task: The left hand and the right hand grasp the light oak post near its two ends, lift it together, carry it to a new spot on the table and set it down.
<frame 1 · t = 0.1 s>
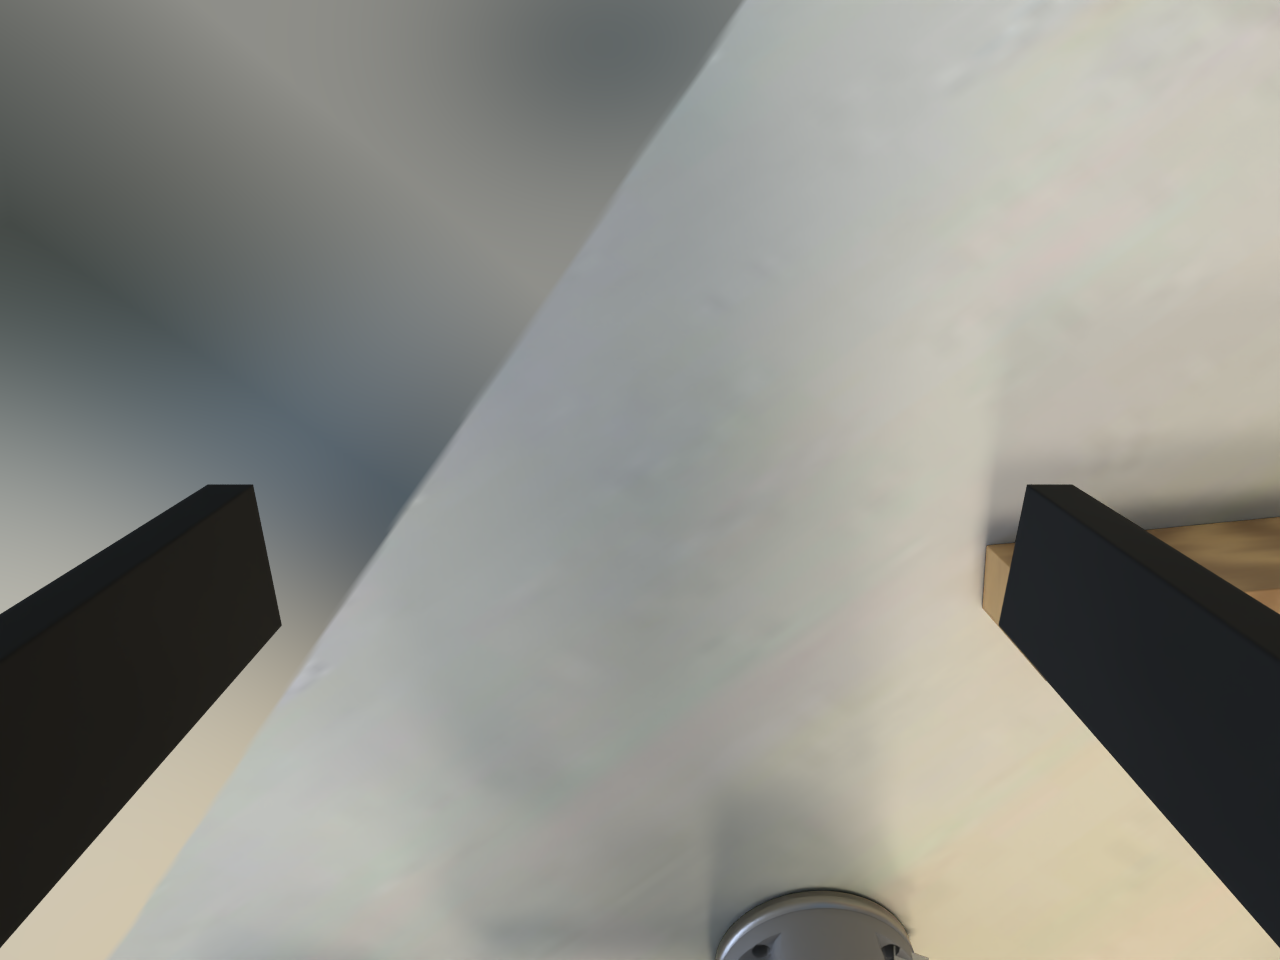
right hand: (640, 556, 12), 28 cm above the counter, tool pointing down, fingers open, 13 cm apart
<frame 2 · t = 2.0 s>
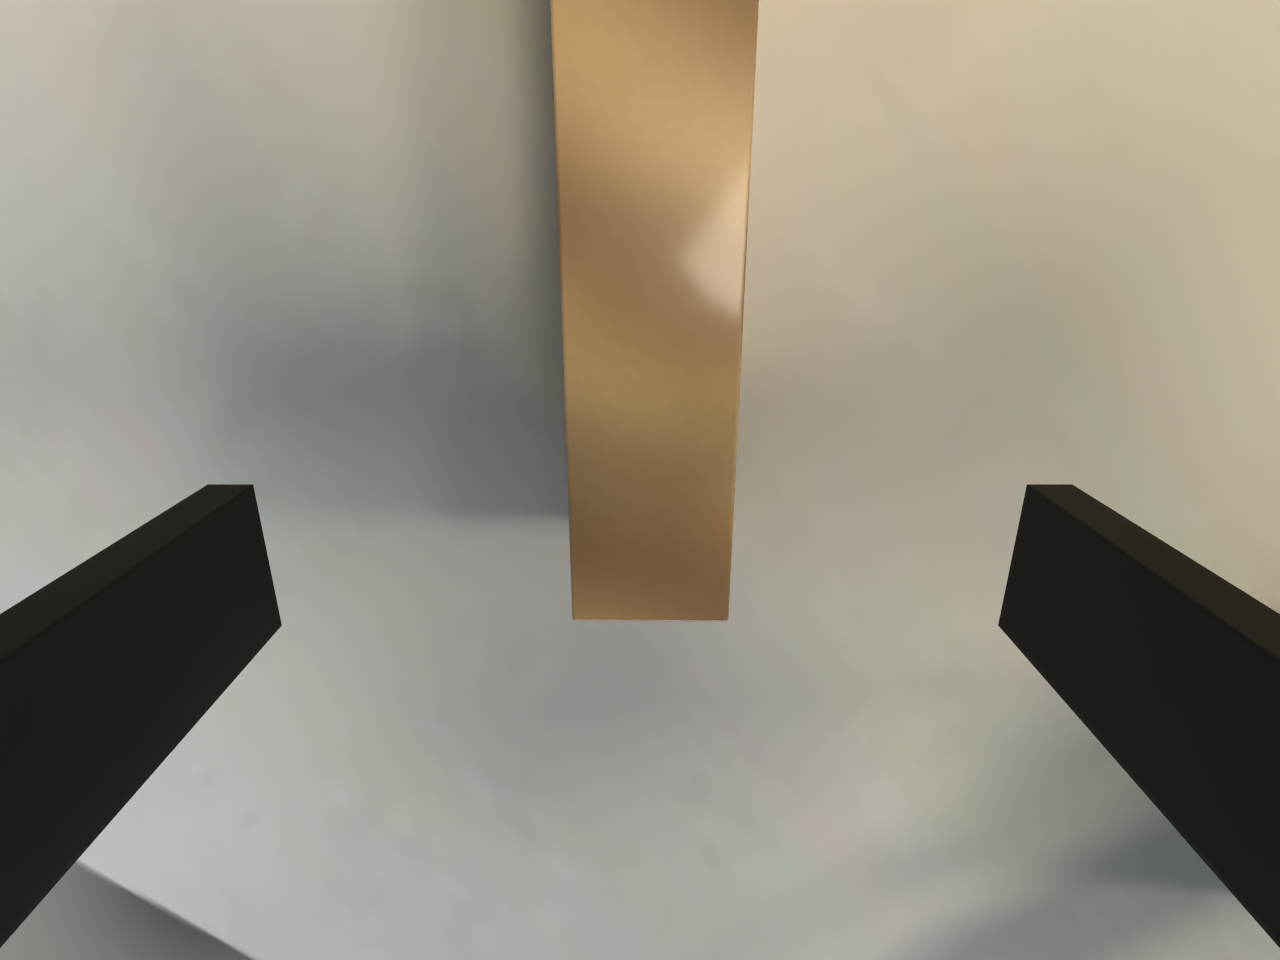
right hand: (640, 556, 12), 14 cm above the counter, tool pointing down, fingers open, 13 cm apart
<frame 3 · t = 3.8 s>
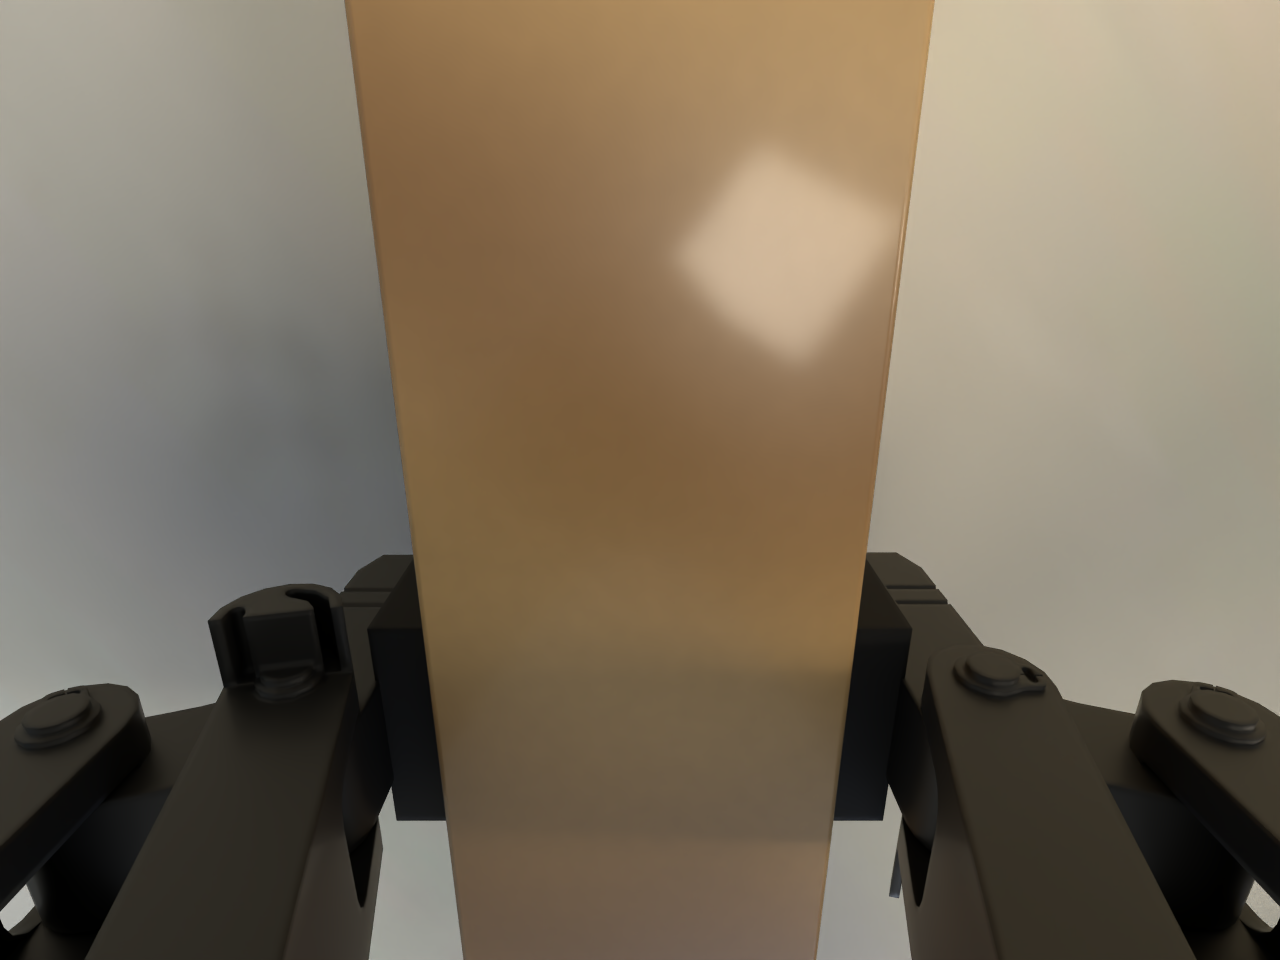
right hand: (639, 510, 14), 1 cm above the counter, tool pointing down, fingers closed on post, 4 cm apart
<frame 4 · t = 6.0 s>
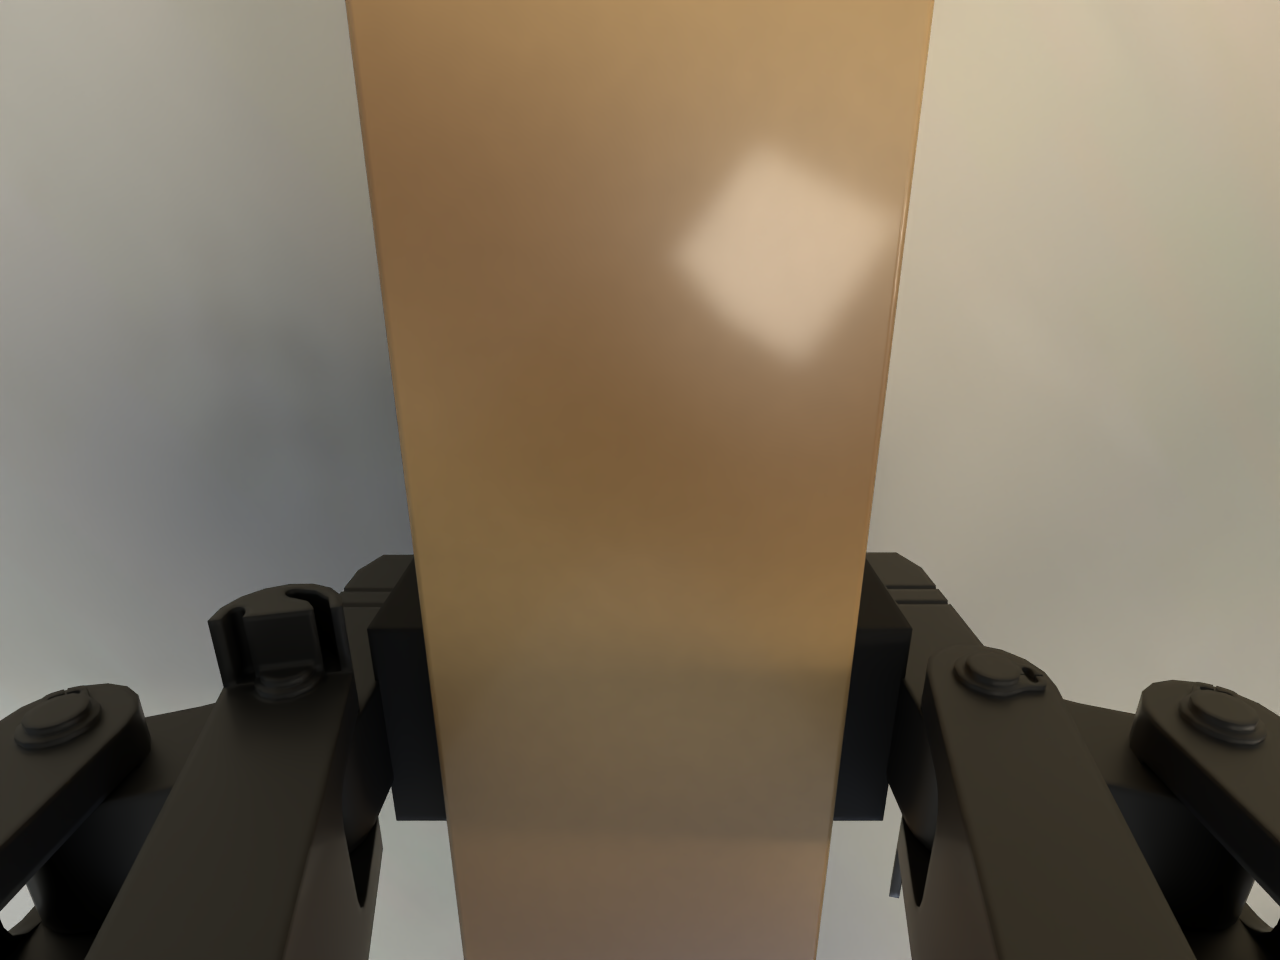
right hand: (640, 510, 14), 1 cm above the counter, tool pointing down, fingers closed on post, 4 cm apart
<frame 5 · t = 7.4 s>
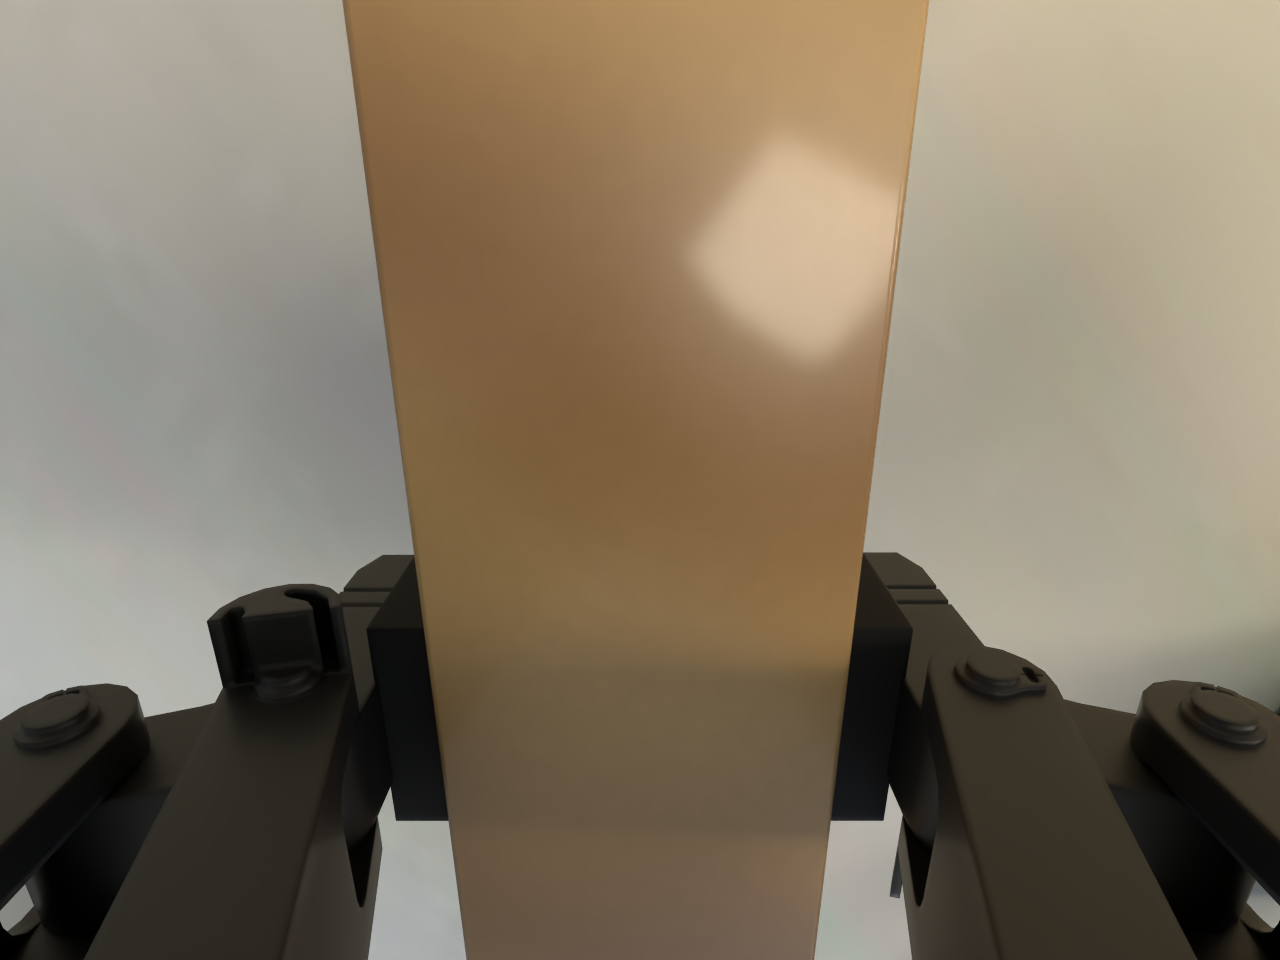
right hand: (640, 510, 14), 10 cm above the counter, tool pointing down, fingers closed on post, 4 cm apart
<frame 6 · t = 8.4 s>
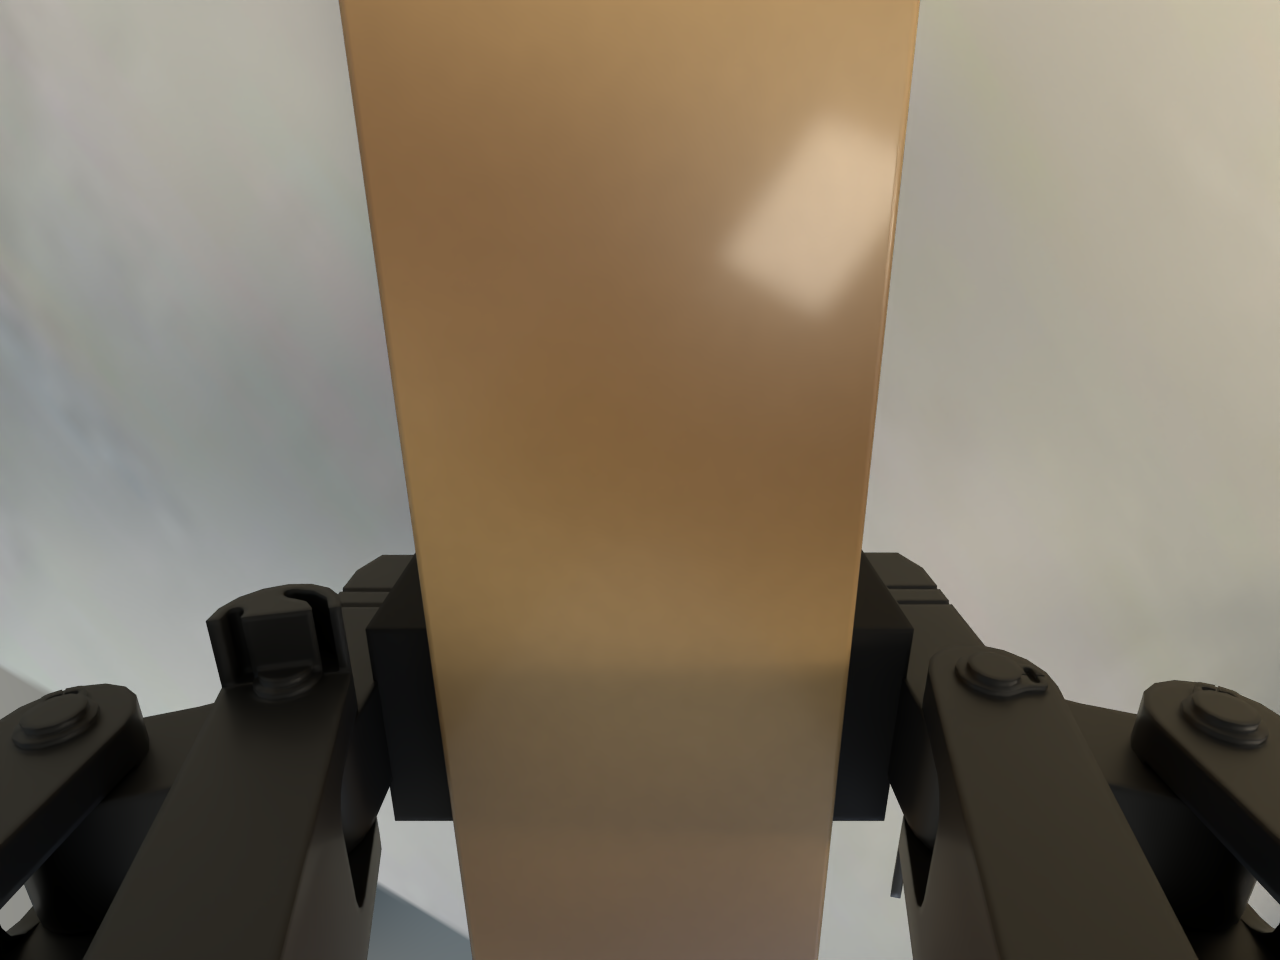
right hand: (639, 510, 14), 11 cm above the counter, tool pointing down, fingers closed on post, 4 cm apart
when the right hand's fingers open (2 cm above the counter, at t = 11.0 s): post stays where it is, on the counter.
when the left hand's fingers open (3 cm above the counter, at t = 11.1 s): post stays where it is, on the counter.
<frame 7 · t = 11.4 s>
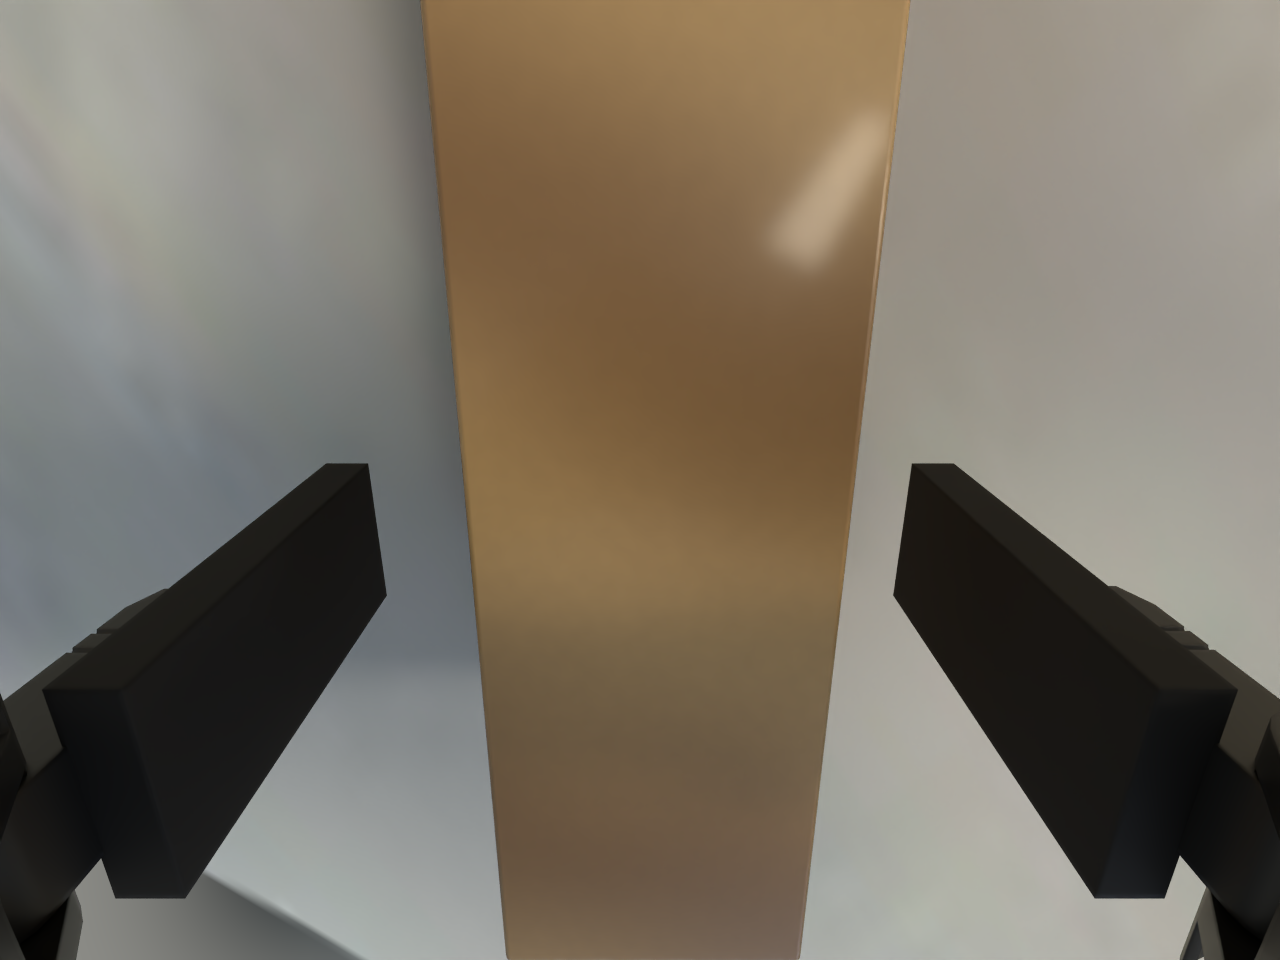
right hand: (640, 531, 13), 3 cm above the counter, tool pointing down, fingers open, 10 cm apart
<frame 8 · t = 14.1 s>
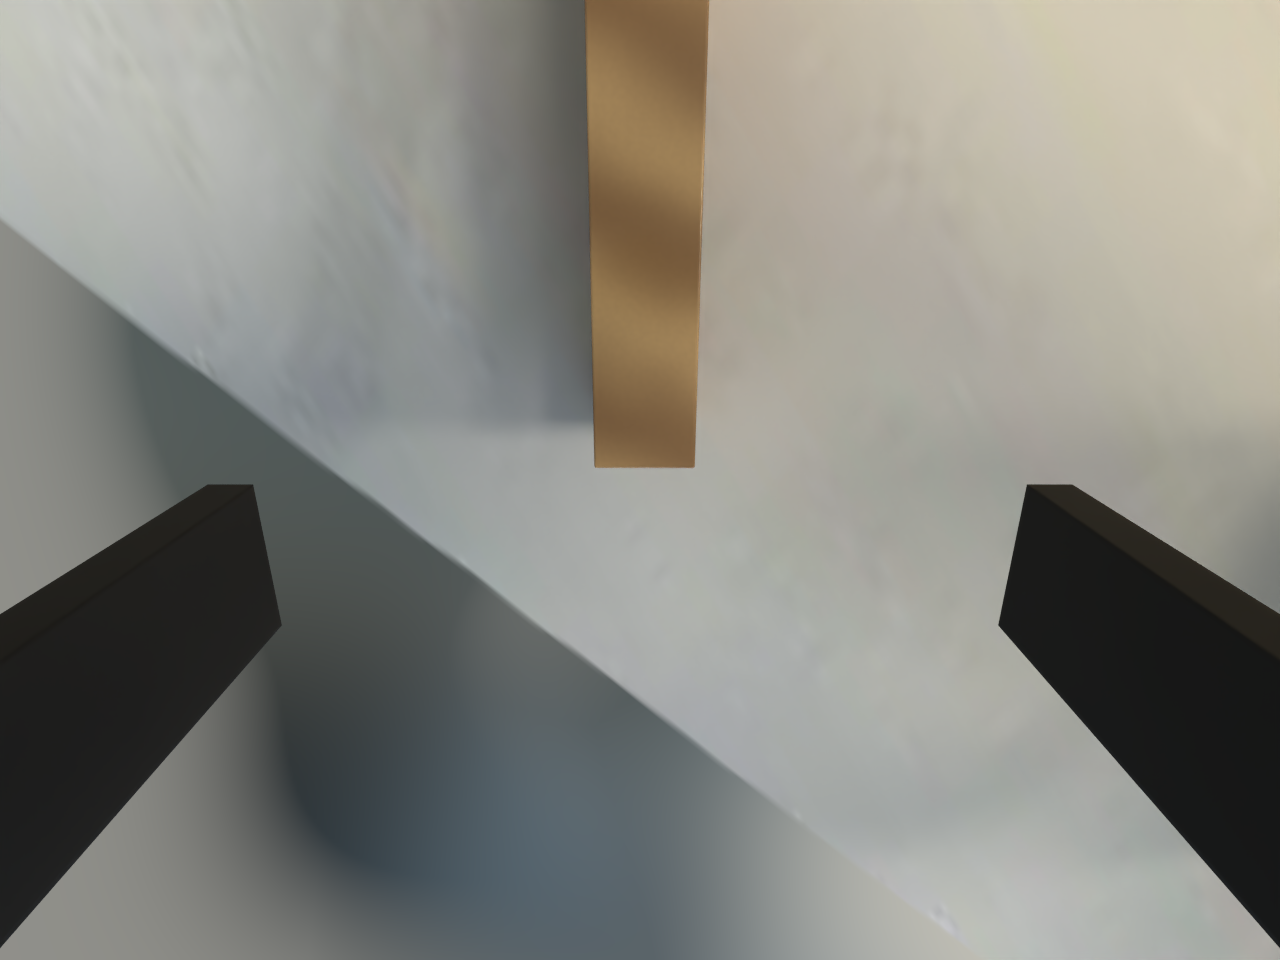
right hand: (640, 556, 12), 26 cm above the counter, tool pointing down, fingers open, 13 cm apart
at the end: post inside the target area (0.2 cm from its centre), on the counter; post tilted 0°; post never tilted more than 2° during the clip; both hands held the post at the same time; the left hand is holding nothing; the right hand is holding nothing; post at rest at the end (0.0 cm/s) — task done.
